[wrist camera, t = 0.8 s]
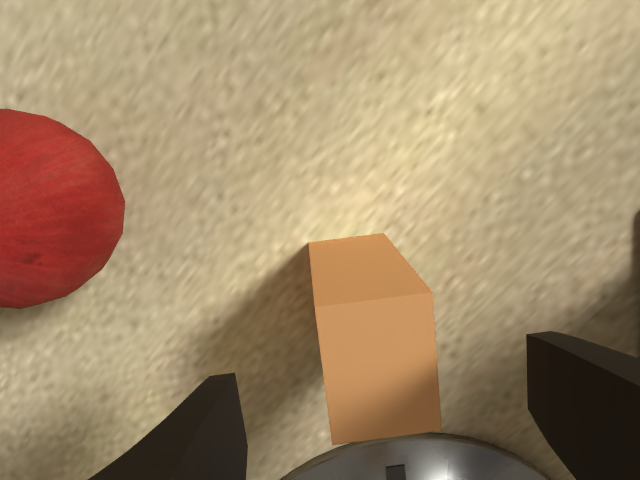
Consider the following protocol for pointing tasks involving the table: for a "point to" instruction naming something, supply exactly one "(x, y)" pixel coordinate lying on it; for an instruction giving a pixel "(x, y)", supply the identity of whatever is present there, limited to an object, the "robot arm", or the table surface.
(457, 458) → the disc with square hole
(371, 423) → the tall tan block
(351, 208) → the table surface
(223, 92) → the table surface
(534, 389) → the robot arm
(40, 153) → the onion
